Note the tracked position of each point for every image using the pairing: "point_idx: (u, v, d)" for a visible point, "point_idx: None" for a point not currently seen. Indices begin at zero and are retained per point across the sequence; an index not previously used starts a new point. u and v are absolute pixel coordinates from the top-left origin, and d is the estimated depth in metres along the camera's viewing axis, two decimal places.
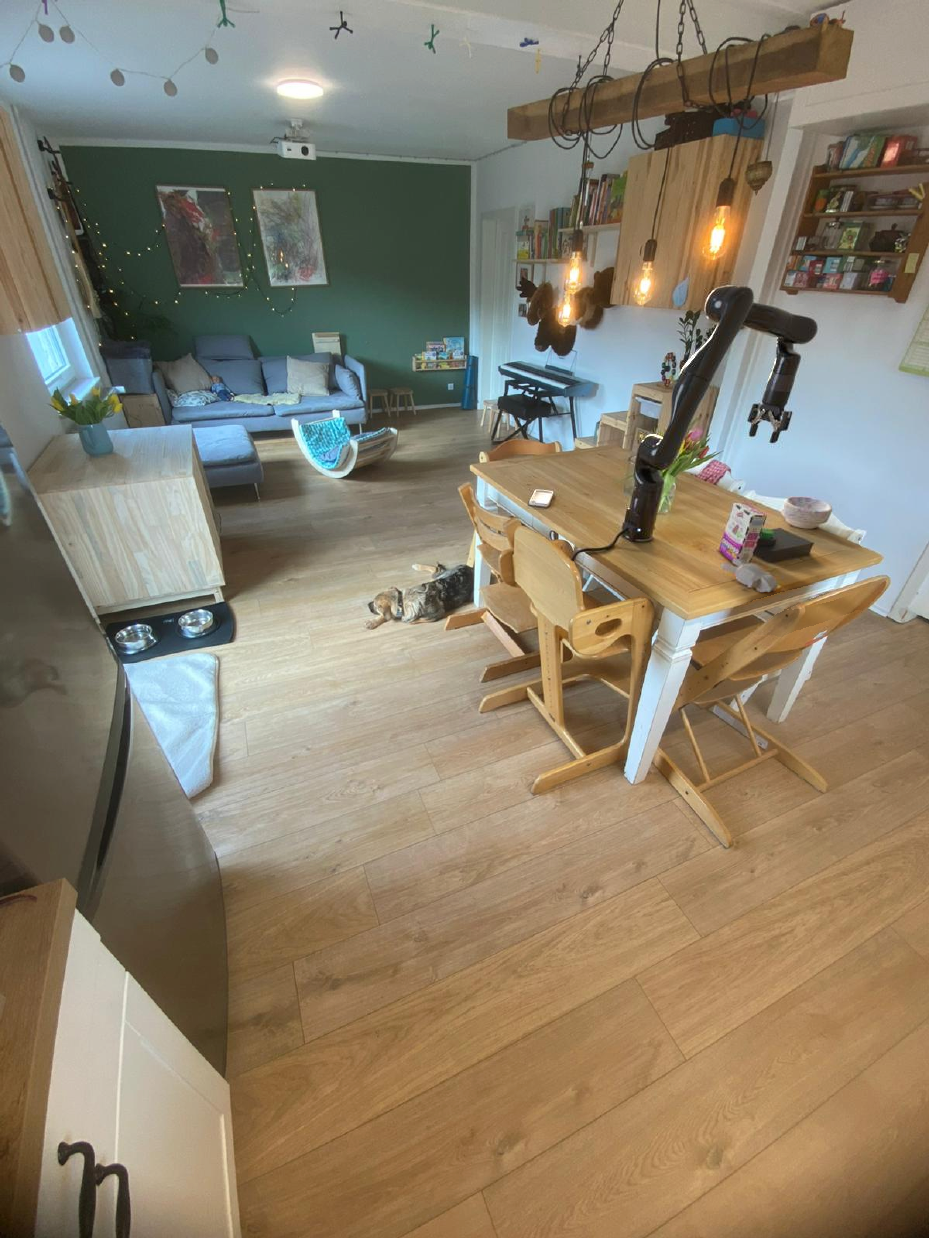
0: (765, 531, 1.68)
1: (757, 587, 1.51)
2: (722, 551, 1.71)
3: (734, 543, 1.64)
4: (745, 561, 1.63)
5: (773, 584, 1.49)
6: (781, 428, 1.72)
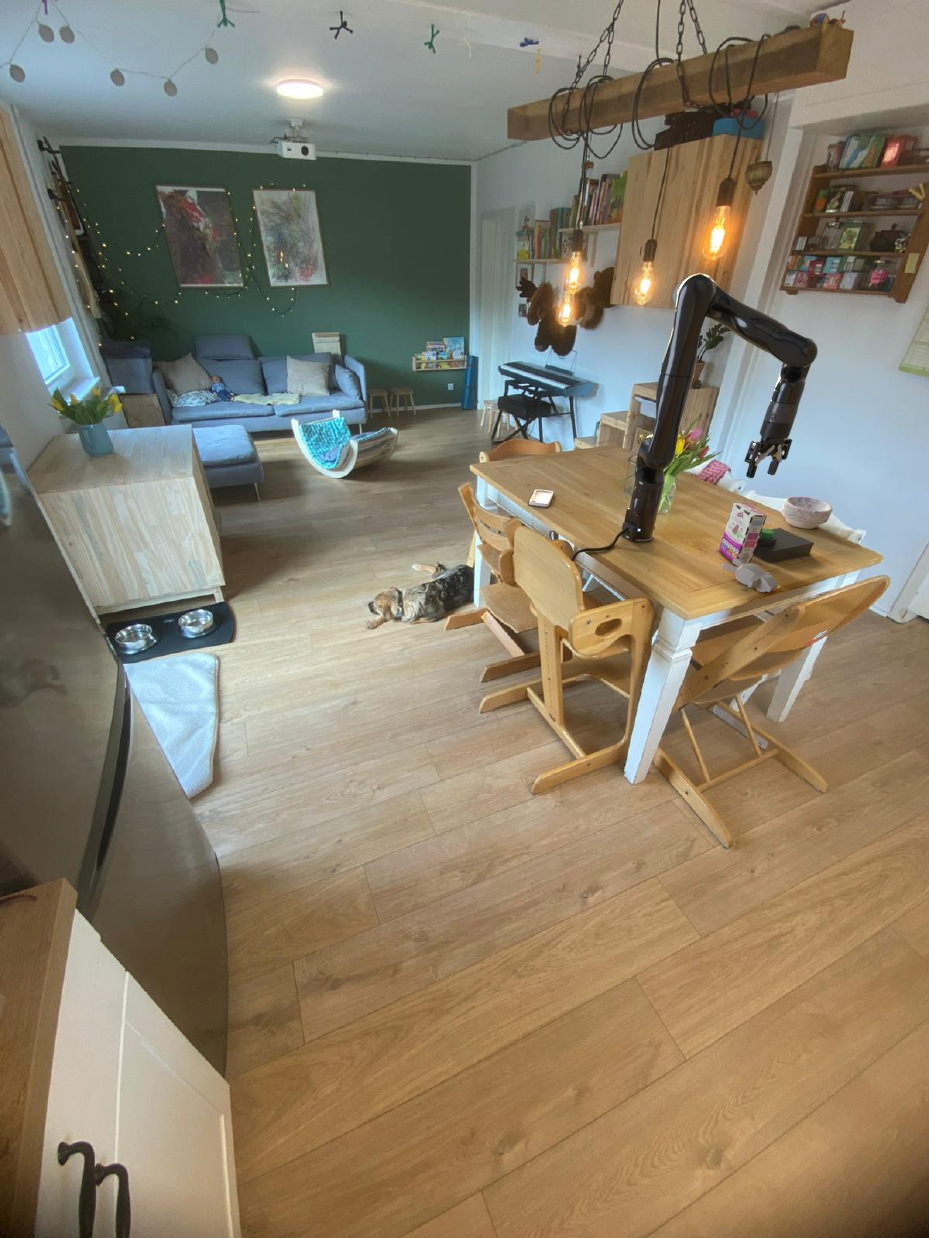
0: (765, 531, 1.68)
1: (757, 587, 1.51)
2: (722, 551, 1.71)
3: (734, 543, 1.64)
4: (745, 561, 1.63)
5: (773, 584, 1.49)
6: None
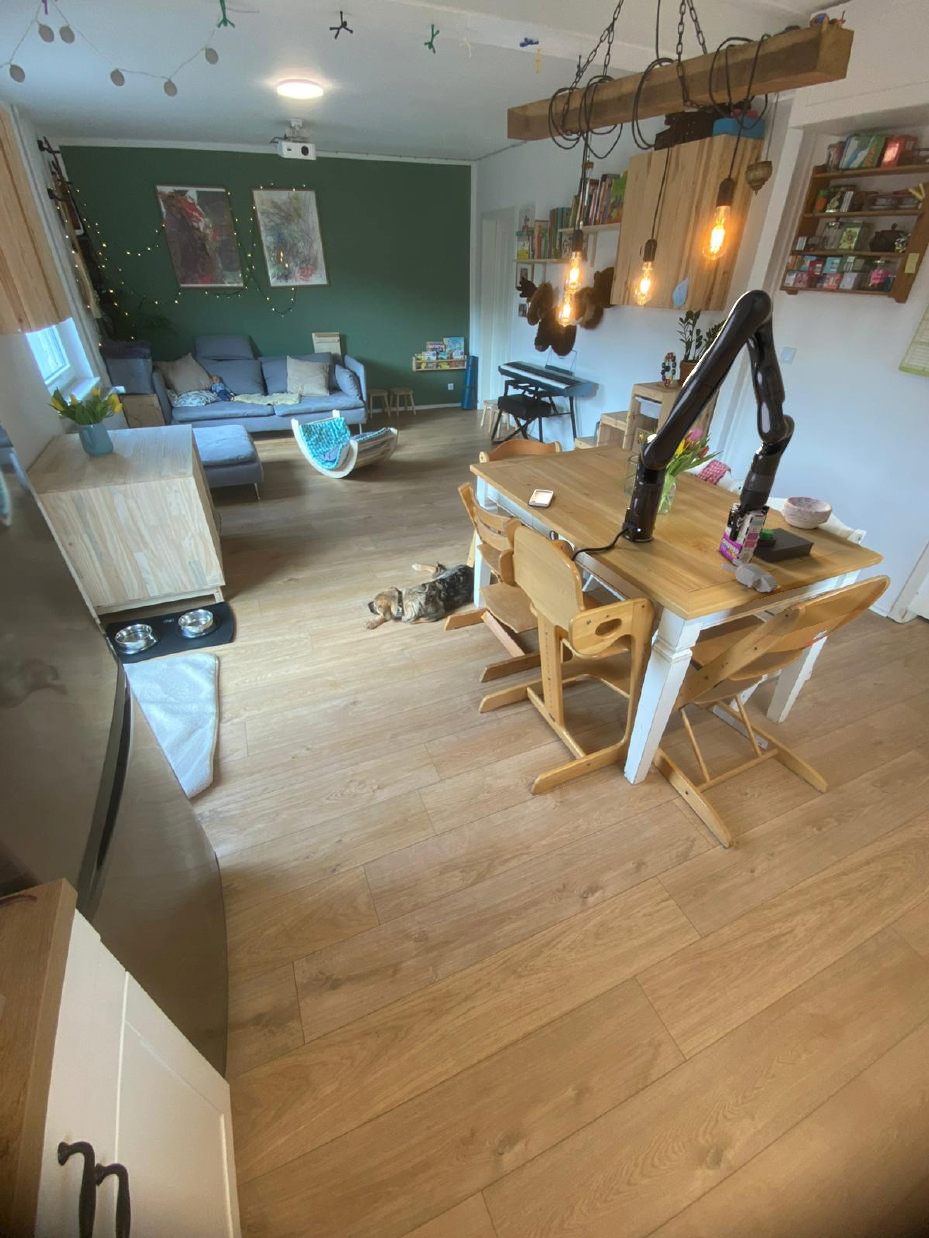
0: (765, 531, 1.68)
1: (757, 587, 1.51)
2: (722, 551, 1.71)
3: (734, 543, 1.64)
4: (745, 561, 1.63)
5: (773, 584, 1.49)
6: None
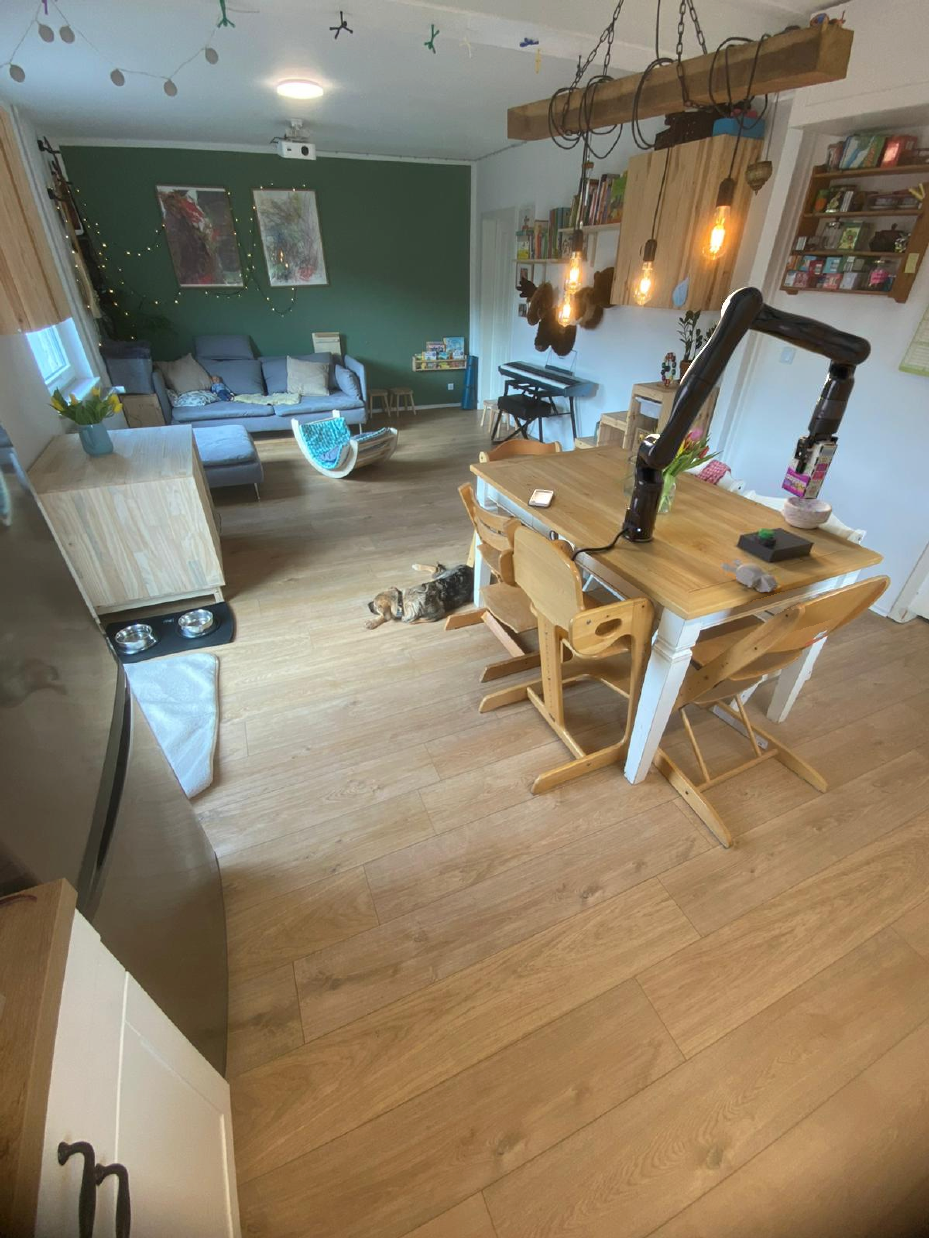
0: (765, 531, 1.68)
1: (757, 587, 1.51)
2: (785, 487, 1.67)
3: (801, 477, 1.60)
4: (812, 495, 1.59)
5: (773, 584, 1.49)
6: None
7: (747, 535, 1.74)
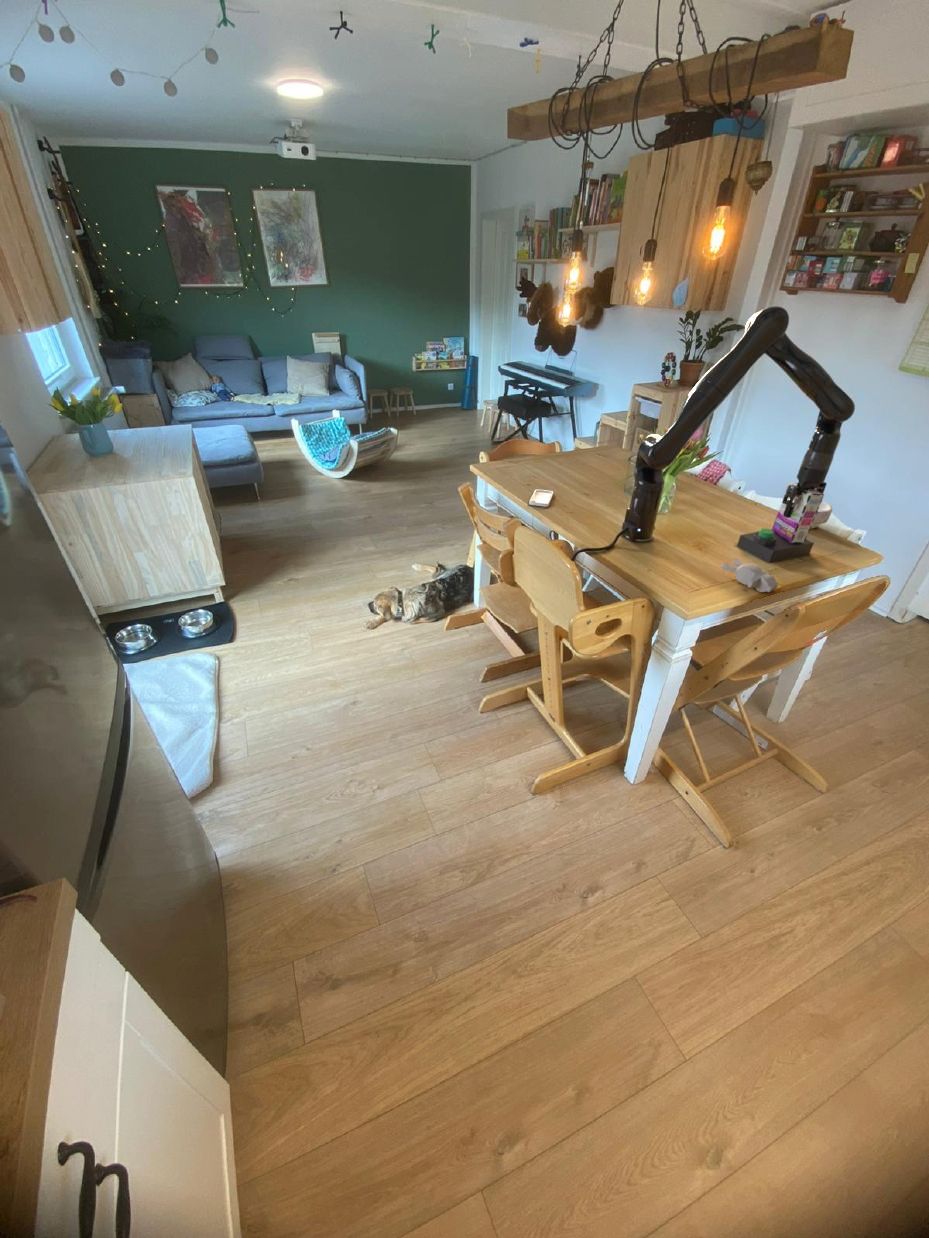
0: (765, 531, 1.68)
1: (757, 587, 1.51)
2: (775, 530, 1.76)
3: (789, 522, 1.69)
4: (800, 539, 1.69)
5: (773, 584, 1.49)
6: None
7: (747, 535, 1.74)
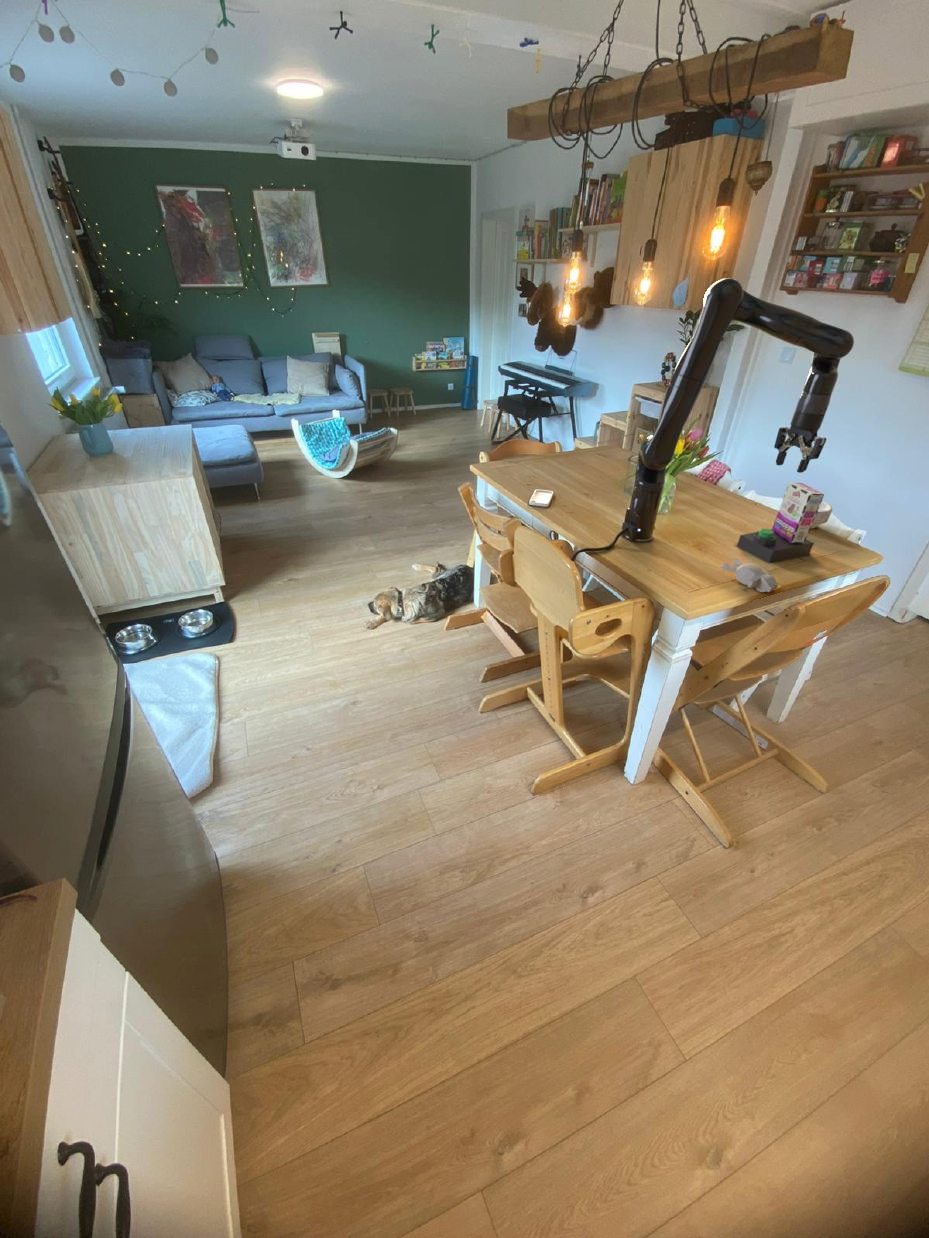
0: (765, 531, 1.68)
1: (757, 587, 1.51)
2: (775, 530, 1.76)
3: (789, 522, 1.69)
4: (800, 539, 1.69)
5: (773, 584, 1.49)
6: (811, 456, 1.50)
7: (747, 535, 1.74)
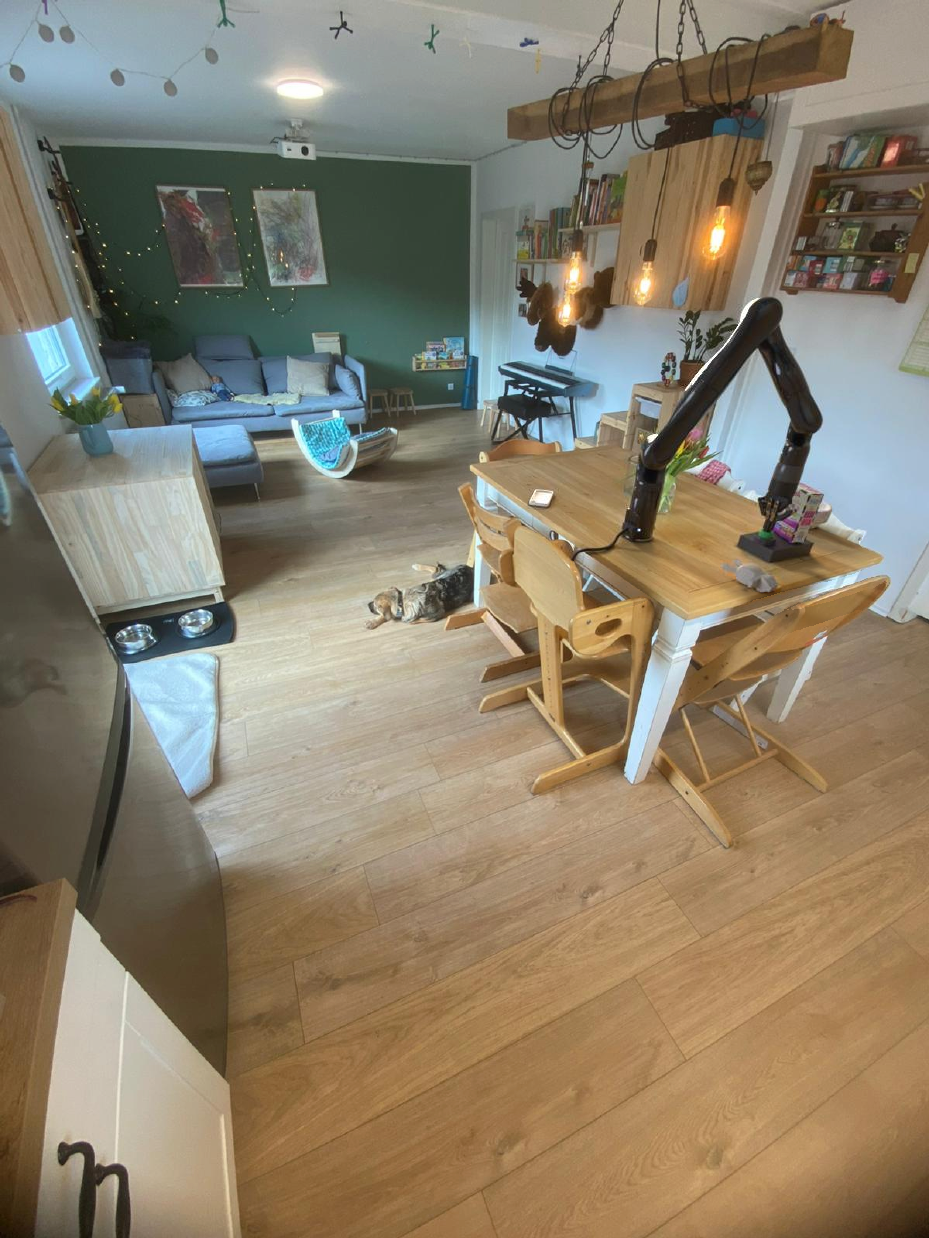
0: (765, 531, 1.68)
1: (757, 587, 1.51)
2: (775, 530, 1.76)
3: (789, 522, 1.69)
4: (800, 539, 1.69)
5: (773, 584, 1.49)
6: (777, 519, 1.63)
7: (747, 535, 1.74)
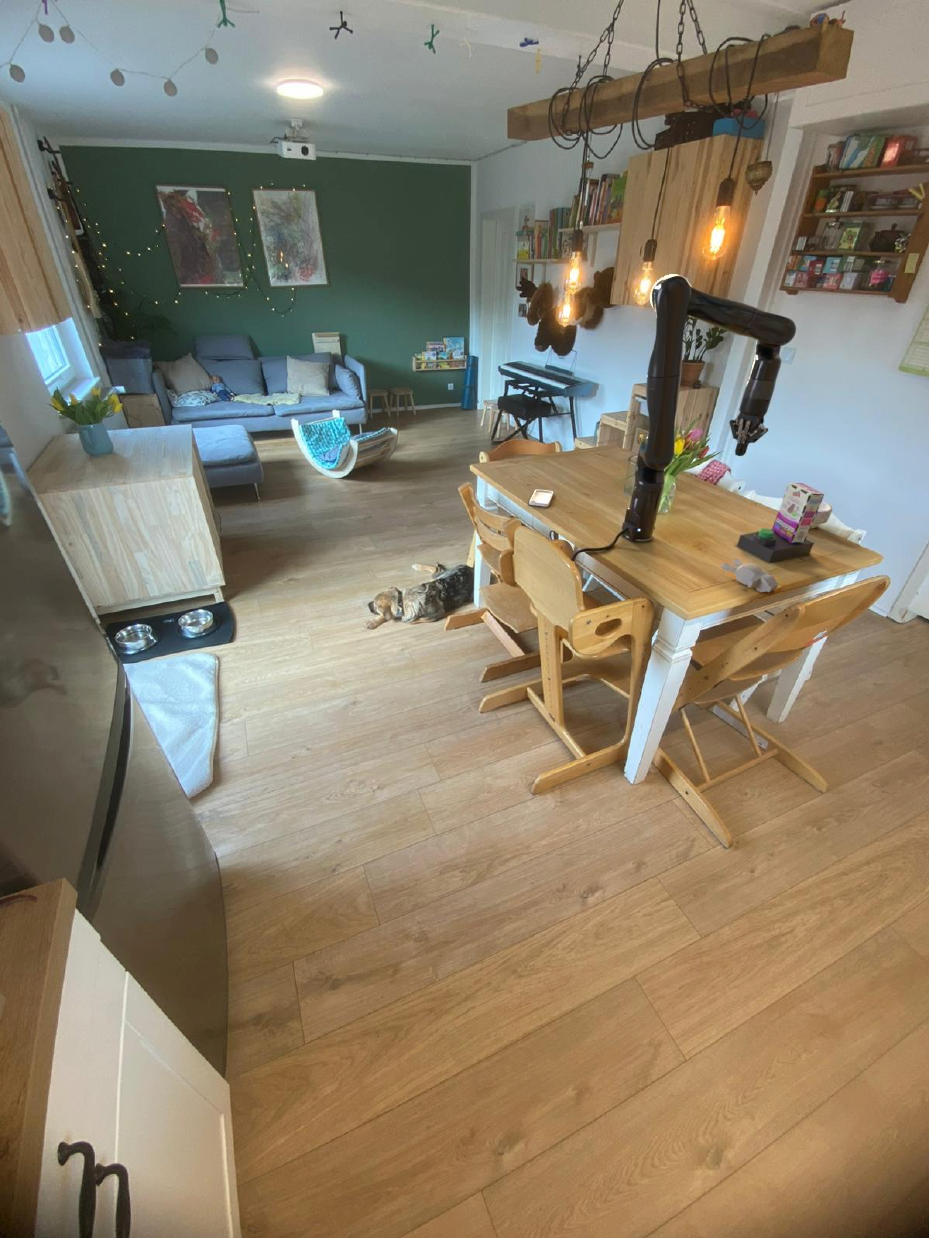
0: (765, 531, 1.68)
1: (757, 587, 1.51)
2: (775, 530, 1.76)
3: (789, 522, 1.69)
4: (800, 539, 1.69)
5: (773, 584, 1.49)
6: (749, 440, 1.58)
7: (747, 535, 1.74)
